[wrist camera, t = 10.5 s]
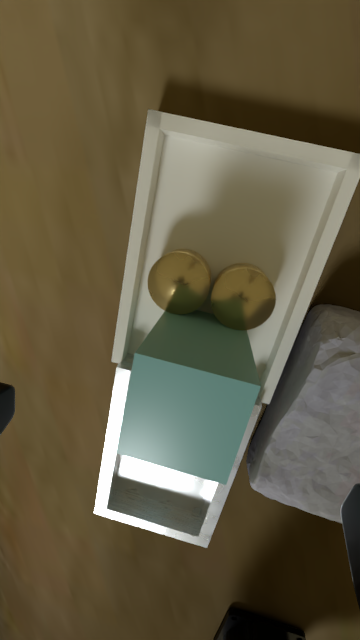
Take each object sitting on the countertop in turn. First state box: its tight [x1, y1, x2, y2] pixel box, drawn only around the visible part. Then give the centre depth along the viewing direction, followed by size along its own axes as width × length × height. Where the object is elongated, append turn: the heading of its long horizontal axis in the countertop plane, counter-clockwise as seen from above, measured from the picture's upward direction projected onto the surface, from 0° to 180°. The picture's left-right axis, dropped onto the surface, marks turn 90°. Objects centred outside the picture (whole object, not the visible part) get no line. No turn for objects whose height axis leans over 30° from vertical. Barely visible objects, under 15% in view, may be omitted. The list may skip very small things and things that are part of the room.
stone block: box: [246, 304, 360, 523], centre depth 16 cm, size 12×5×10 cm
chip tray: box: [111, 109, 360, 404], centre depth 15 cm, size 12×9×1 cm
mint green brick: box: [116, 310, 261, 485], centre depth 13 cm, size 4×4×7 cm
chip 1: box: [148, 249, 211, 314], centre depth 15 cm, size 3×3×2 cm
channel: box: [94, 353, 262, 548], centre depth 19 cm, size 12×8×2 cm
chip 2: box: [211, 263, 276, 330], centre depth 15 cm, size 3×3×2 cm
